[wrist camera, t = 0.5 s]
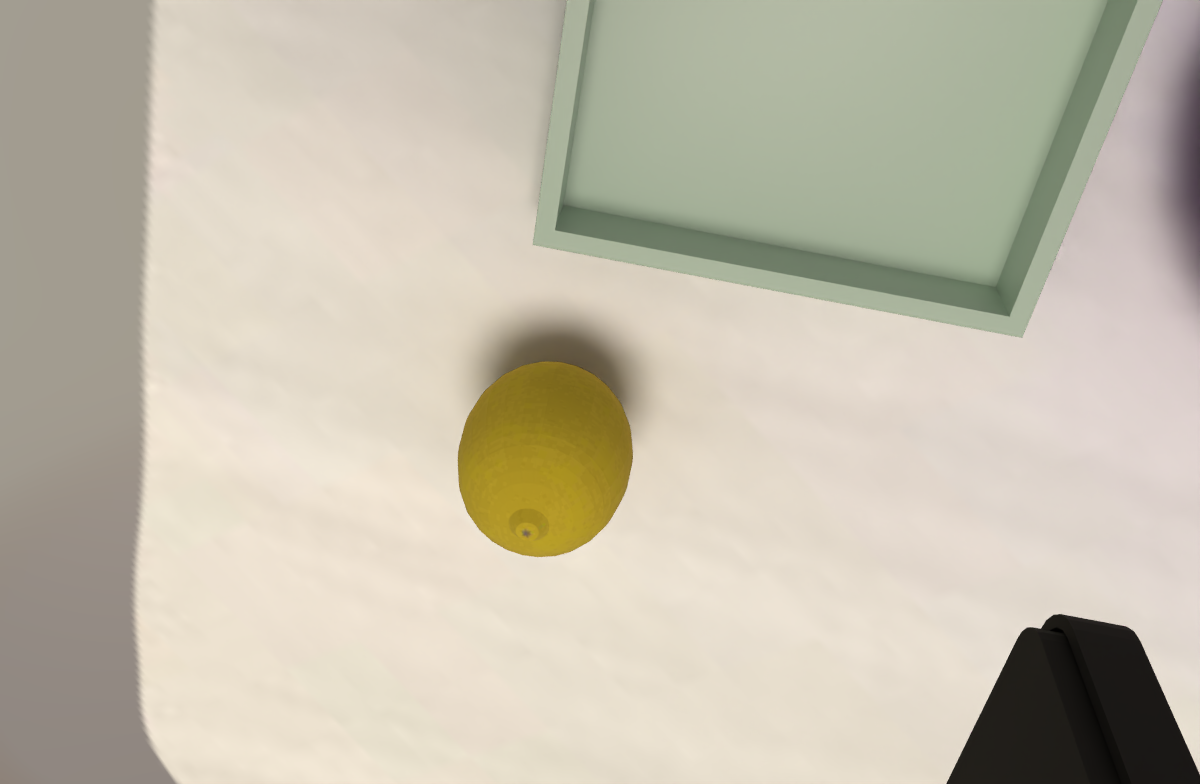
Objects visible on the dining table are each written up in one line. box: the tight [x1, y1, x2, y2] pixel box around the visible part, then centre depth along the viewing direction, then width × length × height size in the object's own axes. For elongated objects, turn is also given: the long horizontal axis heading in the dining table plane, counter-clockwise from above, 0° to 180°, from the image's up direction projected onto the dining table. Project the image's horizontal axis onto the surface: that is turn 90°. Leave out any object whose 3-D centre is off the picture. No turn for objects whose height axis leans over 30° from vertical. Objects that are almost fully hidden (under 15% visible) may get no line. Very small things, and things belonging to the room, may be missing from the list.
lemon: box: [458, 362, 633, 557], centre depth 36 cm, size 6×6×8 cm
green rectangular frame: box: [533, 0, 1163, 338], centre depth 31 cm, size 15×15×2 cm
